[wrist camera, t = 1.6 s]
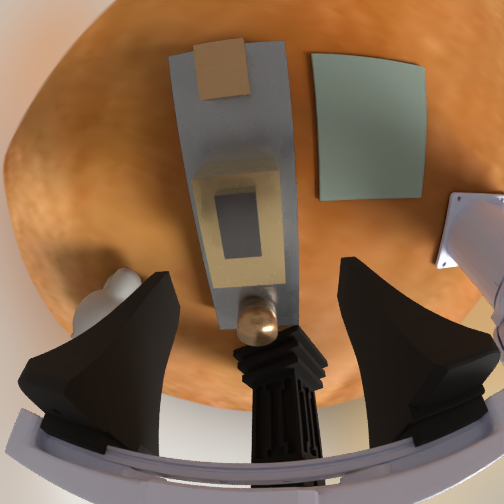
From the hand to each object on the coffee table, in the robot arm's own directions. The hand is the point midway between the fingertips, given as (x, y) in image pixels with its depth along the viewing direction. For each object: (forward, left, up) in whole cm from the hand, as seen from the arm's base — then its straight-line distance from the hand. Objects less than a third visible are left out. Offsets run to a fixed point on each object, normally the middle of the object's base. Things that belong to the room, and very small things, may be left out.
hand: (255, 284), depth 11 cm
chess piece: (-1, +19, -11) cm, 22 cm away
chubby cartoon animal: (+15, +9, -11) cm, 21 cm away
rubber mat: (-9, -5, -11) cm, 15 cm away
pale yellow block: (+1, 0, -8) cm, 8 cm away
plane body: (+1, 0, -11) cm, 11 cm away
